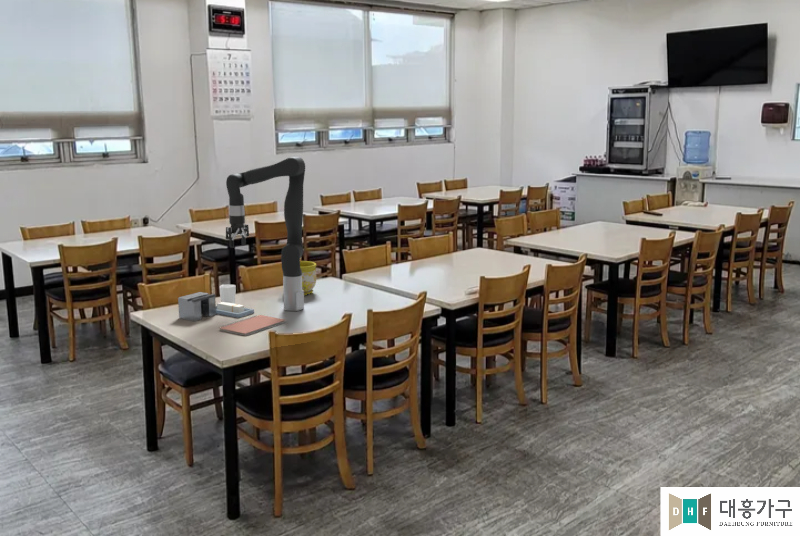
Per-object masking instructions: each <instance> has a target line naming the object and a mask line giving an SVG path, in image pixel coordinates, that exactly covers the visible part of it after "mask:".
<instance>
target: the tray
mask: <svg viewBox="0 0 800 536" xmlns="http://www.w3.org/2000/svg"><path fill="white" fill-rule="evenodd" d="M254 313H255V309H253V308H248V307H244V312H241V313H233V312H227V311H222V310H217V305H216V315H220V316H226V317H227V316H228V317H232V318H236V319H239V318H244V317H245V316H249V315H253V314H254Z"/></svg>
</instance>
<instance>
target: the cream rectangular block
mask: <svg viewBox="0 0 800 536" xmlns="http://www.w3.org/2000/svg"><path fill="white" fill-rule="evenodd" d="M216 306H217V310H222V311H227V312H233V313H241V312H244V308H245V305H244V304H239V303H235V304H233V303H228V302H221V301H220V302H217V303H216Z"/></svg>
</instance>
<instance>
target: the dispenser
mask: <svg viewBox="0 0 800 536" xmlns="http://www.w3.org/2000/svg"><path fill="white" fill-rule="evenodd" d="M177 300H178V301H177V302H178V303H177V304H178V318H179V319H181V320H187V321H191V322H196V321H200V320H202V316H204V317H209V318H210V317H214V316H216V315H217V314H216V306H217V303H216V294H215V293H211V294H210V293H208V292H202V291H198V292H194V293H191V294H186V295H183V296H179V297H177Z"/></svg>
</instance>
